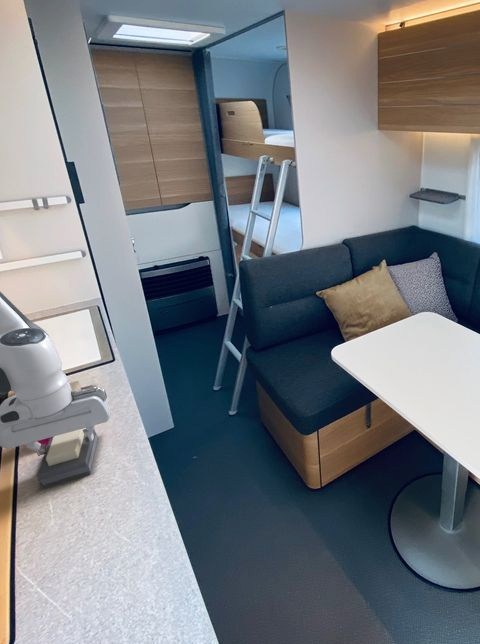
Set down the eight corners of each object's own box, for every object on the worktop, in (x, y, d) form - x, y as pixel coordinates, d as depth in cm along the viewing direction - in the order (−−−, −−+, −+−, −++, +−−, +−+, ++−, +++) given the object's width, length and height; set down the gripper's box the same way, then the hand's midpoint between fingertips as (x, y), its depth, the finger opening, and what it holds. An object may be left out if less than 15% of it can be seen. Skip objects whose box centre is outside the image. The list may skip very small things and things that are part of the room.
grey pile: (42, 491, 90) (36, 476, 88) (55, 452, 100) (49, 438, 98) (92, 476, 93) (86, 461, 91) (99, 440, 103) (94, 426, 102)
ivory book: (48, 466, 90) (45, 459, 89) (57, 441, 97) (54, 434, 96) (78, 457, 92) (75, 450, 92) (84, 434, 99) (81, 427, 98)
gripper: (104, 377, 96) (119, 423, 101) (-6, 403, 88) (17, 451, 93) (100, 392, 90) (117, 440, 96) (-17, 421, 83) (8, 472, 88)
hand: (67, 446), depth 94 cm, fingers open, 8 cm apart
